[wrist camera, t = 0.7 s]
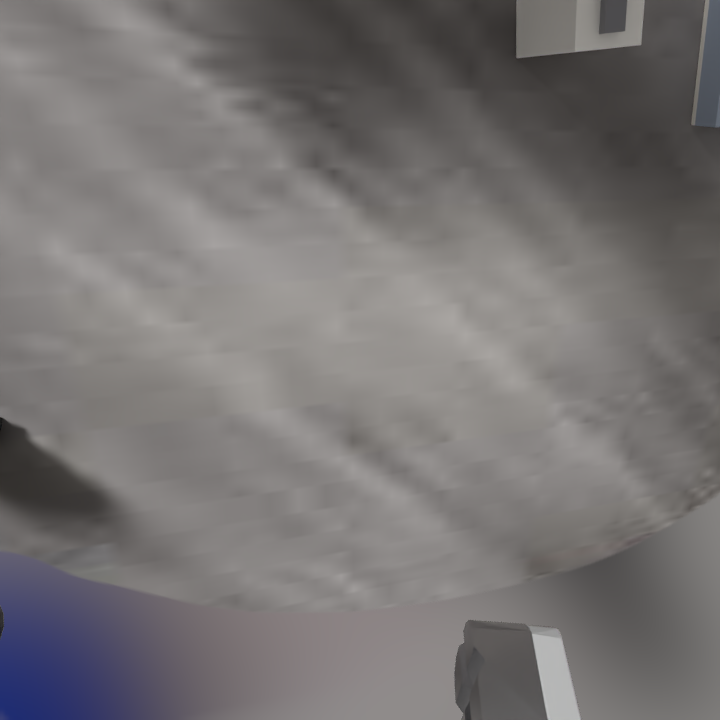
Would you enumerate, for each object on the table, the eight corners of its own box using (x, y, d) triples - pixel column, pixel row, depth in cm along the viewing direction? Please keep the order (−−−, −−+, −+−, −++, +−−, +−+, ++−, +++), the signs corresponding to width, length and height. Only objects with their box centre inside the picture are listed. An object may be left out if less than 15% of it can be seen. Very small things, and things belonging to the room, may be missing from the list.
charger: (516, -5, 44) (583, -31, 34) (571, -11, 44) (654, -38, 34) (516, 58, 45) (580, 51, 36) (569, 52, 46) (647, 44, 36)
